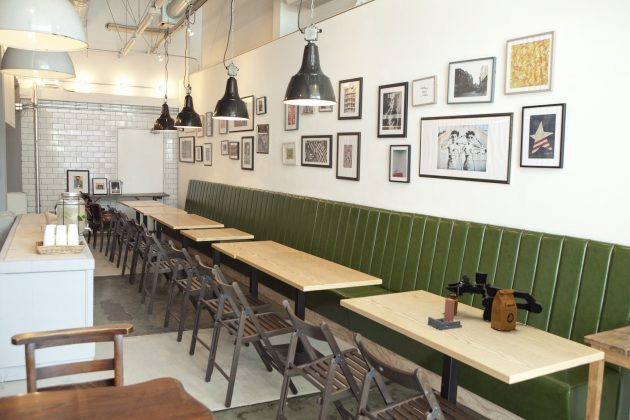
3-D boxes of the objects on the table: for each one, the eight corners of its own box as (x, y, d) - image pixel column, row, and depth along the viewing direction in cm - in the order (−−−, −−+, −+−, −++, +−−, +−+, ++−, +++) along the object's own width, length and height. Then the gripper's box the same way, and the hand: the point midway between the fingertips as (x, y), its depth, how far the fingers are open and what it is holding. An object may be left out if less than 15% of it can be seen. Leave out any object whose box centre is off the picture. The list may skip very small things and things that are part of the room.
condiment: (459, 314, 316) (461, 294, 315) (452, 317, 310) (453, 296, 309) (449, 311, 321) (450, 292, 320) (441, 314, 315) (442, 294, 314)
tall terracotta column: (447, 321, 295) (448, 298, 294) (454, 324, 290) (455, 300, 289) (442, 321, 294) (444, 298, 293) (449, 324, 289) (451, 300, 288)
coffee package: (518, 331, 289) (522, 291, 287) (500, 332, 284) (503, 292, 283) (506, 325, 298) (509, 287, 296) (487, 326, 294) (491, 287, 292)
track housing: (448, 321, 299) (449, 314, 299) (461, 327, 290) (462, 319, 290) (427, 324, 292) (428, 317, 292) (440, 330, 283) (441, 322, 283)
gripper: (476, 272, 317) (449, 270, 322) (474, 278, 300) (445, 275, 305) (475, 291, 318) (448, 288, 323) (473, 297, 301) (444, 294, 306)
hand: (446, 286), depth 314 cm, fingers open, 9 cm apart
